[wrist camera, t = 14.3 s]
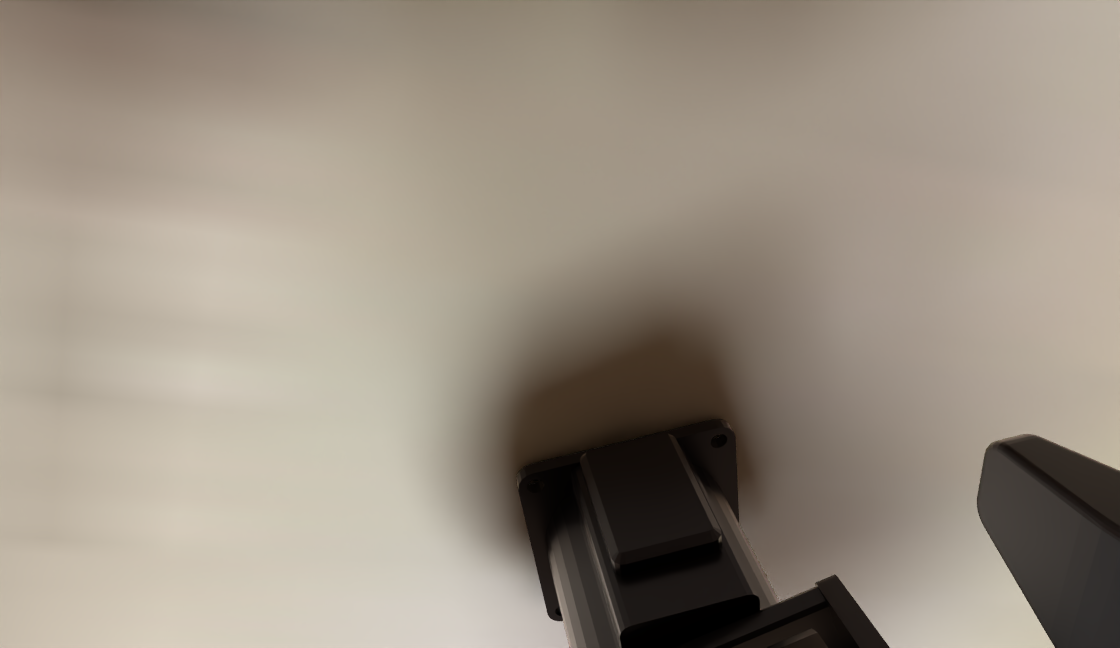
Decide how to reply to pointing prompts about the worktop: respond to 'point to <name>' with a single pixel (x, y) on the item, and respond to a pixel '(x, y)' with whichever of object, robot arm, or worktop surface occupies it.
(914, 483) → the worktop surface
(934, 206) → the worktop surface
